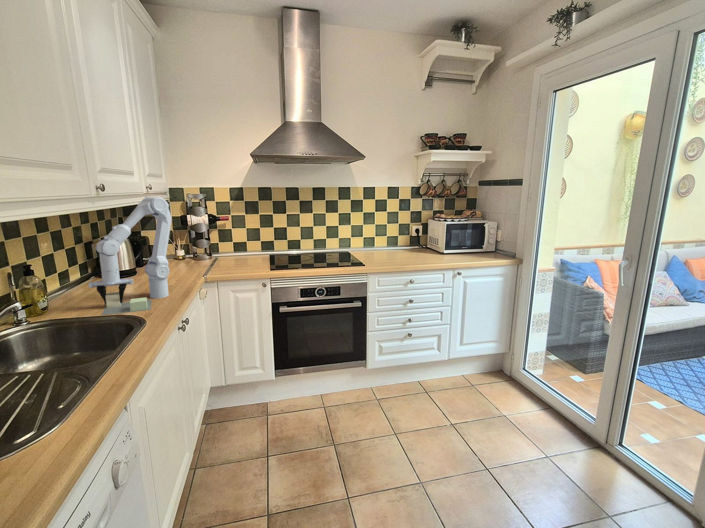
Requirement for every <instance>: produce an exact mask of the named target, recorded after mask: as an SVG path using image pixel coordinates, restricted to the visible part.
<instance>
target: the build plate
mask: <svg viewBox="0 0 705 528" xmlns="http://www.w3.org/2000/svg"><path fill="white" fill-rule="evenodd" d="M147 305H148V306H147V310H139V311H138V312H143V311H151V310H152V299H147ZM134 312H136V313H137V311H130V301H125V302H122V303H121V306H120V307H112V308H107V305H105V307H104V308H103V311H102V313H101V315H100V316H103V317H104V316H109V315H117V314H118V315H119V314H120V315H121V314H127V313H128V314H129V313H134Z"/></svg>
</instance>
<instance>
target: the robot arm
mask: <svg viewBox="0 0 705 528" xmlns="http://www.w3.org/2000/svg"><path fill="white" fill-rule="evenodd" d="M169 206H170V203H168V202H167V200H165V199H164V198H163V197H162V196H161V197H160V196H158V197H157V196H156V197H155V196H154V197H153V196H145V197H144V198H143V199H142V201H140V202H139V203H138V204H137V206H136V207H135V208H134V209H133V210H132V212H131V213H130V214H129V216H127V218H126V219H125V220H124V222H123V223H122V224H117V225H113V226H112V227H111V229H112V230H110V232H109V233H108V234H107V235H104V237H103V239H101V240H99V241H98V242H97V244H96V247H95V250H96V252H97V253H98V254H99V263H100V264H99V265H100V271H101V280H96V281H89V282H88V289H93V288H96V291H97V293H98V294H99V295H100V297H101V298H102V299H103V302H104V305H105V306H106V305H107V304H106V294H107V287H113V286H115V287H116V286H118V292H119V294H120V303H124V302H123V301H124V293H125V290H126V288H127V285H134V278H120V277H121V276H120V267H119V259H118V253H119V251H120V247H121V246H122V245H123V244H124V242H125V241H126V240H127V239H128V237H130V235H131V234H132V232H131V231H132V228H133V227H135V225H136V224H137V223H138V222H139V221H140V220H142V219H143V218H144V216H149V215H152V216H153V217H154V218H155V219H156V227H155V233H154V239H153V240H154V241H153V248H152V252H151V253H152V254H151V256H150V257H149V258H148V262H147V264H146V265H145V266H144V272H145V274H146V275H147V276H148V287H149V288H148V289H149V298H150V299H163V298H167V297H169V295H170V293H169V285H168V284H169V282H168V276H169V275H170V268H169V261H168V259H167V253H168V247H169V240H170V234H171V233H170V232H171V227H172V226H171V225H172V220H173V219H172V218H173V217H172V213H171V211H170V207H169Z"/></svg>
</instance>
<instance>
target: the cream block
mask: <svg viewBox="0 0 705 528" xmlns="http://www.w3.org/2000/svg"><path fill="white" fill-rule="evenodd" d="M106 304H107V308H112V307H120V306H121V303H120V294H119V291H115V292H114V291H113V292H106Z"/></svg>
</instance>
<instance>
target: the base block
mask: <svg viewBox="0 0 705 528" xmlns="http://www.w3.org/2000/svg"><path fill="white" fill-rule="evenodd" d="M147 300H148V297H139V298H138V297H137V298H131V299H130V300H129V302H130V311H136V312H140V311H139V310H145V311H148V310H147V306H148V305H147Z"/></svg>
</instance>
